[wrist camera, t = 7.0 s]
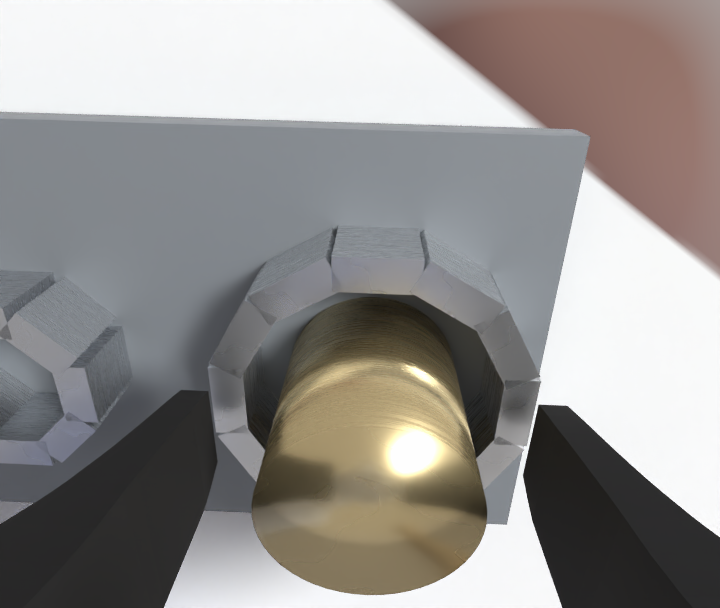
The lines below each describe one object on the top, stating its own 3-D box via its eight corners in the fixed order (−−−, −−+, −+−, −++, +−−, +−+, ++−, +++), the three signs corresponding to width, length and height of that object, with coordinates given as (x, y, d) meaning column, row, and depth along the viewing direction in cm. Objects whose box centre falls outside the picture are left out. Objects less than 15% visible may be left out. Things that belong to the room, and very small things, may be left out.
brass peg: (295, 430, 15) (260, 591, 11) (286, 295, 13) (240, 423, 9) (446, 434, 15) (474, 598, 11) (460, 298, 13) (502, 430, 9)
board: (-24, 475, 18) (-45, 498, 17) (-177, 106, 13) (-220, 111, 12) (500, 500, 18) (506, 524, 17) (574, 129, 12) (590, 136, 11)
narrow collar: (-13, 411, 15) (-65, 460, 14) (-67, 267, 13) (-136, 303, 12) (141, 418, 15) (110, 468, 14) (111, 274, 13) (69, 311, 11)
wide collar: (243, 461, 16) (226, 514, 14) (219, 221, 12) (192, 251, 11) (494, 472, 16) (508, 527, 14) (539, 232, 12) (566, 265, 11)
